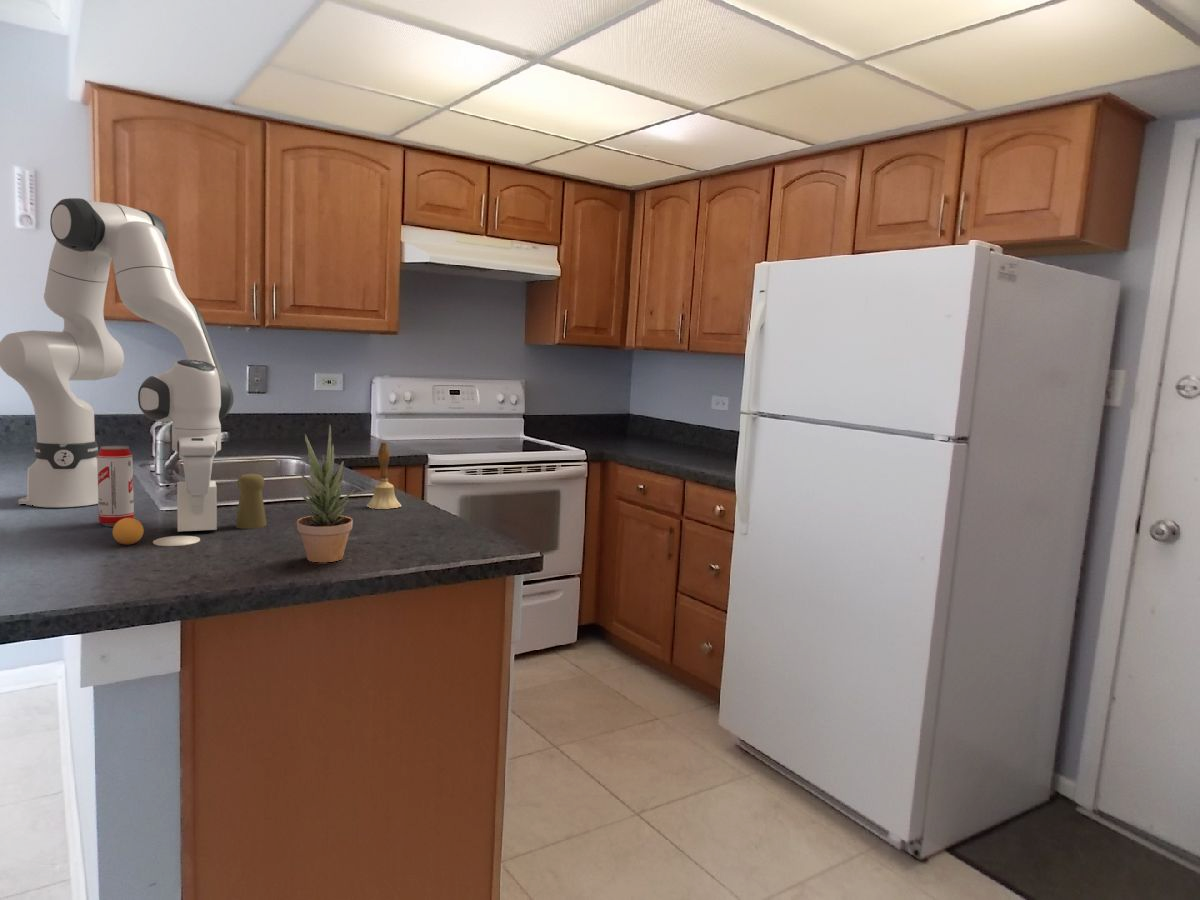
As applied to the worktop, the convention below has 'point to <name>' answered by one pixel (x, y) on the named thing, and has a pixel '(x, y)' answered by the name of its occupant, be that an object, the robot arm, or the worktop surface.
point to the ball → (128, 531)
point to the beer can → (115, 484)
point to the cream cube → (185, 509)
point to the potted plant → (324, 510)
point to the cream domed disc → (176, 541)
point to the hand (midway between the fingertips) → (197, 509)
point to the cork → (251, 502)
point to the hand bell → (384, 484)
